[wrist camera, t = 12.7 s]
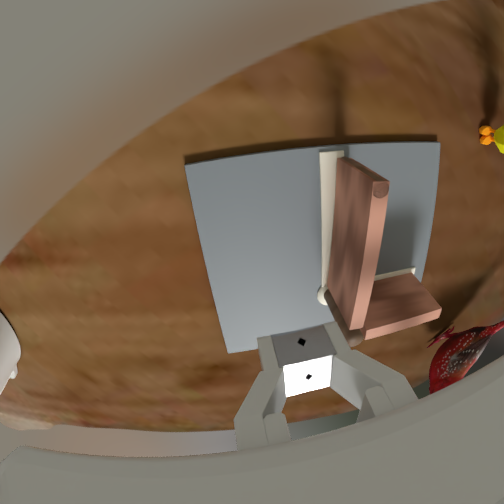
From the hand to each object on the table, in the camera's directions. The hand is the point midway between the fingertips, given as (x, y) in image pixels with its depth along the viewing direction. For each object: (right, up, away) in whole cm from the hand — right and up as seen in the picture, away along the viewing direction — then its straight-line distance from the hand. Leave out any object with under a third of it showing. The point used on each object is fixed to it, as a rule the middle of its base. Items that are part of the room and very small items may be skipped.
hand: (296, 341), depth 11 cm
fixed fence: (+10, 0, +18) cm, 21 cm away
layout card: (+5, +3, +16) cm, 17 cm away
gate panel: (+6, +5, +14) cm, 16 cm away
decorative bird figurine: (+27, -7, +25) cm, 38 cm away
